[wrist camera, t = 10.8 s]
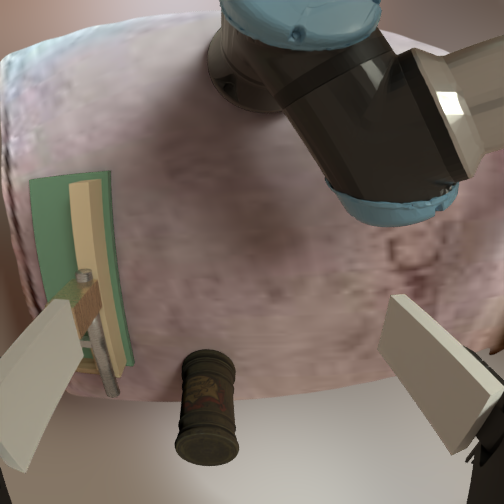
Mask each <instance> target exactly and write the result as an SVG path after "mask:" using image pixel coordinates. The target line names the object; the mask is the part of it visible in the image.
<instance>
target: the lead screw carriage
mask: <svg viewBox="0 0 504 504" xmlns="http://www.w3.org/2000/svg"><path fill="white" fill-rule="evenodd" d="M75 277H76V279H71V280H70V281H69V282H68V283H67V284H66V285H65V286H64V287H63V288H62V289H61V290H60V291H59V292H58V293H57V294H56V295H55V296H54V297H53V298H52V299H51V300H50V301H49V302H48V303H47V304H46V305H45V308H46V307H47V306H48V305H49V304H50V303H51V302H52V301H53V300H54V299H64V300H69V302H70V306H71V310H72V314H73V318H74V322H75V326H76V330H77V334H78V337H79V341H80V344H81V347H86V348H92V350H93V354H94V357H95V360H96V364H97V367H98V370H99V373H100V376H101V379H102V382H103V385H104V388H105V391H106V394H107V396H108V397H111V398H114V397H117V396H119V394H120V389H119V386H118V383H117V380H116V376H115V373H114V369H113V366H112V362H111V359H110V355H109V351H108V347H107V343H106V339H105V335H104V331H103V326H102V322H101V317H100V313H99V312H100V310H101V309H102V307H103V306H102V301H101V296H100V290H99V284H98V279H93V275H92V270H91V269H80V270H78V271H76V272H75ZM86 331H87V332H88V336H84V334H85V333H86Z"/></svg>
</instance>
